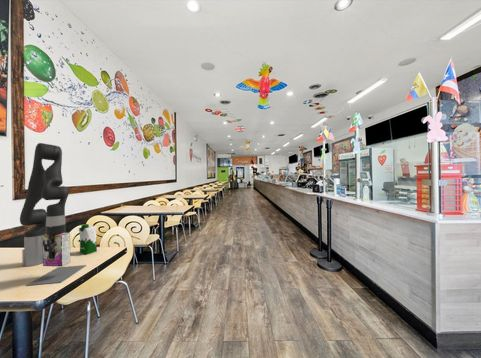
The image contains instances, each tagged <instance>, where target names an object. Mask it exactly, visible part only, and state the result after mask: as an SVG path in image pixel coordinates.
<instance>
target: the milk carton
mask: <svg viewBox="0 0 481 358" xmlns="http://www.w3.org/2000/svg"><path fill="white" fill-rule="evenodd" d="M97 230H98V226H97V225H89V224H88V223H87V224H86V223H85V224H81V226H80V227H78V233H79V254H80V255H86V256H87V255H90V254H92V253H95V252H98V245H97Z"/></svg>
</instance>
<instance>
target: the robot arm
mask: <svg viewBox="0 0 481 358" xmlns="http://www.w3.org/2000/svg"><path fill="white" fill-rule="evenodd" d="M43 160H44V161H45V160H47V161H53V162H52V164H51V165H49V166H48V167H47V168H46V169H45V168H44V166H43ZM32 163H33V165H32V169H31V170H32V171H31V174H30V177H29V180H28V186H27V191H26V196H25V200H24V203H23V206H22V209H21V211H20V215H19V216H20V217H19V222H20V224H21V226H27V227H28V226H33V227H32V228H30V229H28V230H27V231H25V232H24V233H23V237H24V238H23V241H24V243H23V248H24V249H22V250H21V254H22V255H21V256H22V257H21V259H22V260H21V261H22V266H24V267H30V266H31V267H32V266H36V265H41V264H43V245H44V251H45V252H49V259H53V258H55V251H54V250H55V246H56V244H54V245H51V244H53V243H54V242H55V235H56V234H60V233H66V229H67V228H66V225H67V224H66V213H65V211H66V210H65V209H66V203H67V199H68V197H69V194H70V190H69V188H68V187H67V186H63V182H64V181H63V176H62V175H63V174H62V163H63V151H62V148H61V147H60V146H59V145H54V144H49V143H43V142H39V143H37V144H36V146H35V149H34V155H33V162H32ZM42 199H43V200H45V201H55V200H56V201H58V202H57V203H56V202H55V203H53V204H49V205H47V206H46V209H44V208H37V209H35V207H36V205H37V204H38V203H39V202H40V201H41V200H42ZM44 234H47V235H49V237H48V239H47V240H44V241H43V235H44ZM47 247H48V249H47ZM52 247H53V248H52Z"/></svg>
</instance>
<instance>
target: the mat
mask: <svg viewBox="0 0 481 358" xmlns="http://www.w3.org/2000/svg"><path fill="white" fill-rule="evenodd" d="M86 267H87V264H81V265H72V266H71V265H70V266H62V267H60V266H56V268H54V269H52V270H51V271H50V270H49V272H46V273H45V274H43V275H42V276H39V277H37V278H36V279H34V280H32V281H30V282H29V283H27V284H25V287H31V286H40V285H52V284H61V283H63V282H64V281H66V280H67V279H69V278H70V277H72V276H73V275H75V274H76V273H78V272H79V271H81V270H82V269H84V268H86Z"/></svg>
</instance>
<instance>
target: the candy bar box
mask: <svg viewBox="0 0 481 358" xmlns="http://www.w3.org/2000/svg"><path fill="white" fill-rule="evenodd" d="M48 237H49V235H47V234H44V235H43V241H44V240H47V239H48ZM54 244H56V246H55V250H54V251H55V258H53V259H49V252H45V251H44V245H43V263H42V266H43V267H66V266H67V265H69V264H71V233H70V232H64V233H60V234H56V235H55V242H54V243H53V244H51V245H54ZM52 248H53V247H52ZM47 249H48V247H47Z"/></svg>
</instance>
